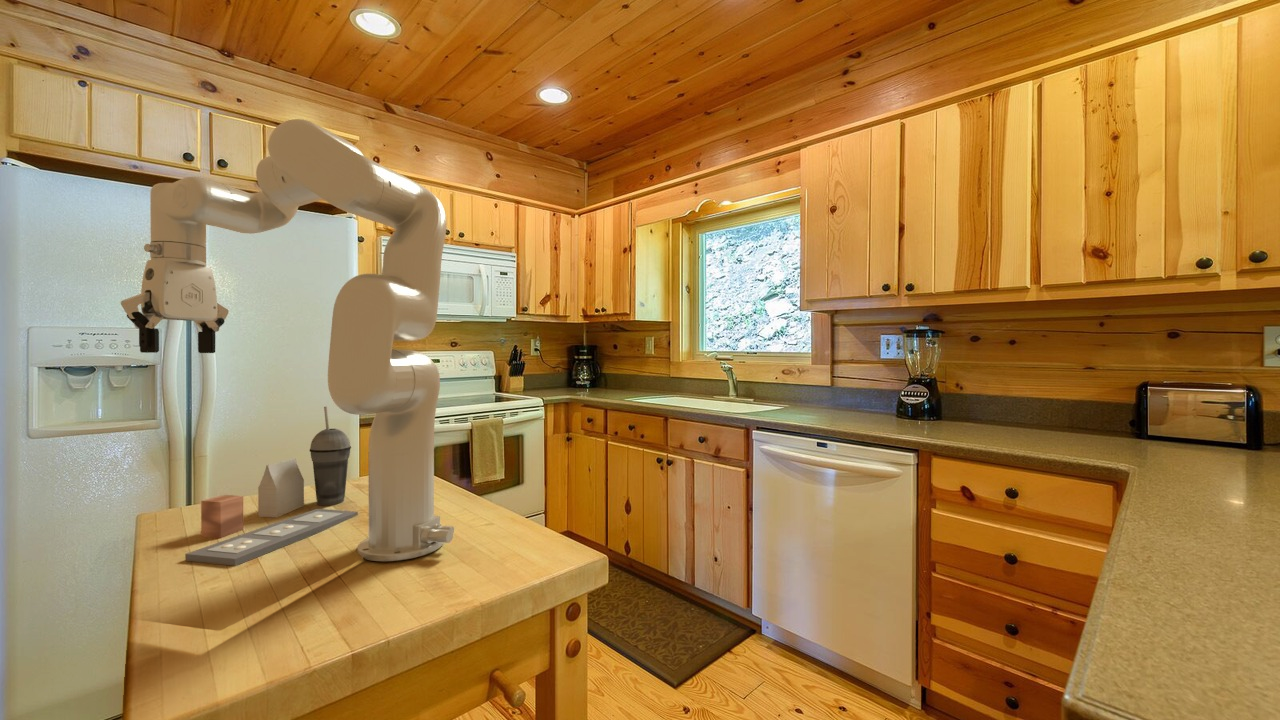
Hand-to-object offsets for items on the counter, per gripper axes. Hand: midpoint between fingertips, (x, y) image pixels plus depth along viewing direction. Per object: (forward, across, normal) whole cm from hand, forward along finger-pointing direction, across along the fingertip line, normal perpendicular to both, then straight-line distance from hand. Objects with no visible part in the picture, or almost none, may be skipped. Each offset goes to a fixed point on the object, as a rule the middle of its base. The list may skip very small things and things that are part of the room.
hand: (179, 352), depth 95 cm
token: (+31, -2, -12) cm, 33 cm away
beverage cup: (+31, +16, -17) cm, 39 cm away
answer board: (+31, -1, -23) cm, 38 cm away
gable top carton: (+31, +9, -12) cm, 34 cm away
